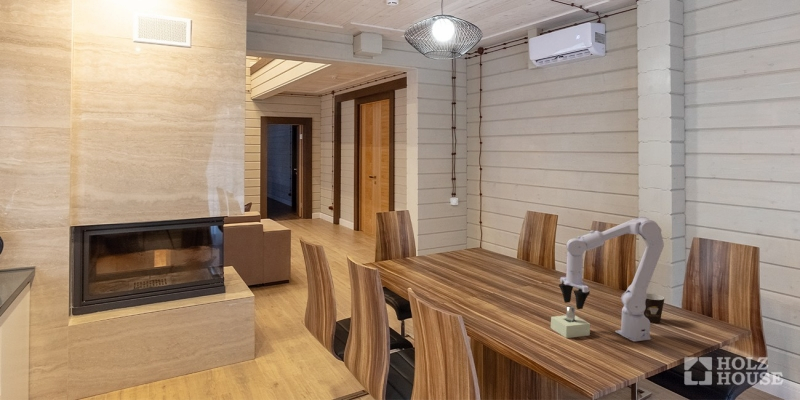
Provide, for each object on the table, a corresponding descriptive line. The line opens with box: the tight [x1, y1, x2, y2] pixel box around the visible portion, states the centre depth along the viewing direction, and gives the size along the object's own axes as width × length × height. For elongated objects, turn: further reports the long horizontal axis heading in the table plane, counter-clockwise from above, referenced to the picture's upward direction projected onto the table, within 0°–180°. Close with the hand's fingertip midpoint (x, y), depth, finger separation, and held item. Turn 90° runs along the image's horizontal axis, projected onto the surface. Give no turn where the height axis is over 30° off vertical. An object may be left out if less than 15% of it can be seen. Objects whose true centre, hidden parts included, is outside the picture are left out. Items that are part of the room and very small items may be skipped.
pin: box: [565, 305, 576, 322], centre depth 174 cm, size 3×3×8 cm
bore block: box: [550, 314, 591, 339], centre depth 175 cm, size 10×10×4 cm
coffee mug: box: [644, 292, 666, 324], centre depth 187 cm, size 12×9×10 cm
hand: (573, 305), depth 175 cm, fingers open, 7 cm apart
